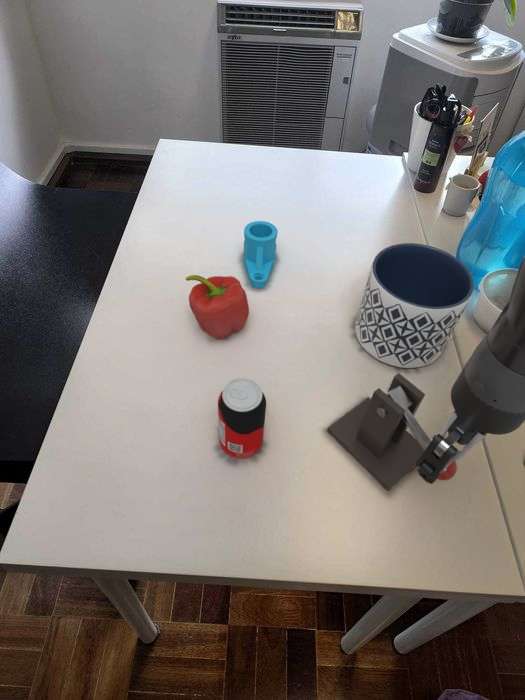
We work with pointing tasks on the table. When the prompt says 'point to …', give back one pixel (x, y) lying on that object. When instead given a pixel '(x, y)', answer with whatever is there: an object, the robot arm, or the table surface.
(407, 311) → the planter
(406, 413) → the tap lever
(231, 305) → the vegetable
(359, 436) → the grey lever stand
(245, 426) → the beverage can
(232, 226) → the table surface
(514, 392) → the robot arm
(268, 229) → the bracket
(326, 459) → the table surface
